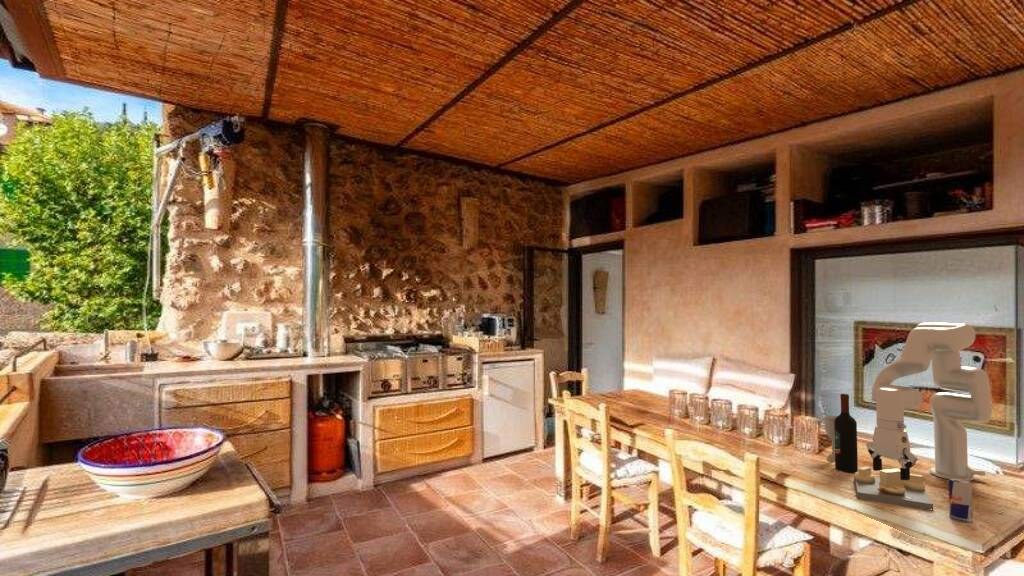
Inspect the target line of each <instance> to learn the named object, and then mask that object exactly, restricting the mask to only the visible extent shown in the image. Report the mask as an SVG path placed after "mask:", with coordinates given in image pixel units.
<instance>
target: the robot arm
mask: <svg viewBox="0 0 1024 576" xmlns="http://www.w3.org/2000/svg"><path fill="white" fill-rule="evenodd" d="M975 331H976V330H975V329H974V328H973V326H971V325H970V324H967V323H958V322H957V323H955V322H953V323H952V322H951V323H949V322H948V323H947V322H922V323H919V324H917V325H916V326H915V328H914V329H911V330H910V332H909V333H908V336H907V339H906V341H905V344H904V346H903V349H902V351H901V354H900V356H899V359H897V360H895V361H894V362H892V363H890V364H888V365H887V366H886V367H884V368H883V369H882V370H881V371H879V373H878V374H877V376H876V378H875V380H874V383H873V386H872V389H871V397H872V399H873V401H874V402H875V403H876V404H875V405H876V406H875V407H876V413H875V414H876V426H875V427H874V431H873V438H872V439H873V440H872V441H870V442H868V443H867V442H866V444H865V446H866V449H867V452H868V453H869V455H870V458H871V459H872V470H873V471H875V472H877V471H879V472H880V470H883V461H882V460H883V459H882V458H881V457H883V458H886V459H889V460H893V461H897V462H898V463H899V465H900V466H901V467H900V468H899V470H900V479H901V480H909V479H910V474H911V468H913V467H914V466H915V465H916V463H917V461H918V460H919V459H918V456H916V455H914V453H912V452H911V446H910V445H911V444H910V440H909V435H908V432H907V430H905V429H907V425H906V424H905V419H904V418H905V413H904V411H905V410H916V409H918V408H920V407H921V406H922V405H923V402H924V397H923V394H922V392H921V391H919V390H918V389H916V388H914V387H910V386H902V385H901V386H900V385H897V384H893V382H894V381H897V380H898V379H900V378H903V377H909V376H913V375H917V374H921V373H923V372H926V371H927V370H928V369H929V367H930V364H931V367H932V369H931V370H932V377H933V379H932V380H933V383H934V385H935V386H936V387H937V388H939V389H941V390H947V391H952V392H953V393H952V392H936V393H934V394H933V395H931V397H930V399H929V406H930V411H931V413H932V419H933V429H934V430H933V438H934V440H933V441H934V467H931V468H930V469H929V471H930V474H932V475H933V476H936V477H939V478H942V479H946V480H949V478H951V477H955V478H962V479H966V480H969V481H970V482H971V481H973V480H974V479H975V475H976V476H980V477H982V476H983V477H985V476H986V471H985V470H982V469H979V468H971V467H970V465H969V462H968V461H969V459H968V432H967V429H966V427H965V426H964V425H963V423H962V422H961V421H966V422H970V423H971V422H973V423H979V424H985V423H988V422H989V421H990V419H991V418H992V414H993V413H992V412H993V411H992V410H993V408H992V398H991V395H992V394H991V384H990V378H989V376H988V374H987V372H986V371H985V370H983V369H982V368H980V367H979V368H978V367H975V366H974V367H973V366H963V365H962V362H961V361H962V360H961V353H960V351H961V350H964V349H965V350H966V349H967V348H969V347H971V346H972V345H973V344H974V342H975V340H976V332H975ZM954 392H960V393H961V394H960V393H954ZM962 393H968V394H969V395H967V394H962Z"/></svg>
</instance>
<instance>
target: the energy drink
mask: <svg viewBox="0 0 1024 576" xmlns="http://www.w3.org/2000/svg"><path fill="white" fill-rule="evenodd" d="M947 483H948V504H949V505H948V509H949V510H948V511H949V512H948V514H949V517H950V519H952V520H953V519H954V520H953V521H956V522H960V523H963V522H965V523H964V524H970V523H973V520H974V517H973V516H974V515H973V513H974V512H973V487H972V486H973V485H972V482H971V481H969V480H966V479H962V478H955V477H951V478H949V479H948V482H947Z"/></svg>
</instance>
